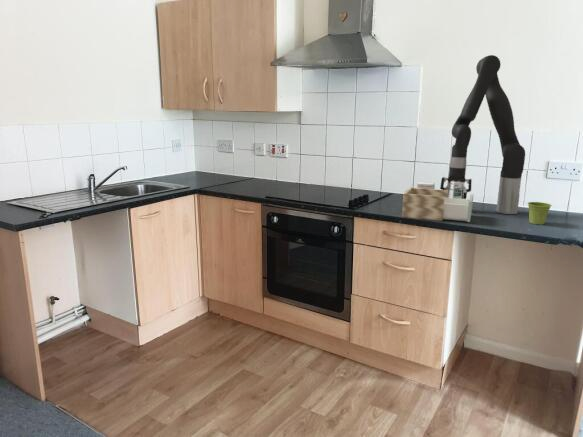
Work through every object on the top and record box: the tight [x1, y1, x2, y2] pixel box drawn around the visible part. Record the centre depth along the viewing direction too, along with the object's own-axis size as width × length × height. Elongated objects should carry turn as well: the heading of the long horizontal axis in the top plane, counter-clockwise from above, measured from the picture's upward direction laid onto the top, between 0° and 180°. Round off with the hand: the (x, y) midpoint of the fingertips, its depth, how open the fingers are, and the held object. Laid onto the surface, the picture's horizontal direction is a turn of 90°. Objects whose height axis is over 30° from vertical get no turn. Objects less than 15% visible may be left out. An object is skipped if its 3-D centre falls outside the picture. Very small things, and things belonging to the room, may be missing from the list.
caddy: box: [401, 187, 448, 222], centre depth 223 cm, size 18×18×11 cm
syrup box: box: [447, 181, 465, 199], centre depth 234 cm, size 6×6×14 cm
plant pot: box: [527, 201, 552, 226], centre depth 210 cm, size 9×9×9 cm
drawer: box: [443, 193, 474, 223], centre depth 219 cm, size 18×18×9 cm
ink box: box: [416, 181, 436, 190], centre depth 245 cm, size 8×5×12 cm, turn 69°
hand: (454, 199), depth 234 cm, fingers open, 8 cm apart
